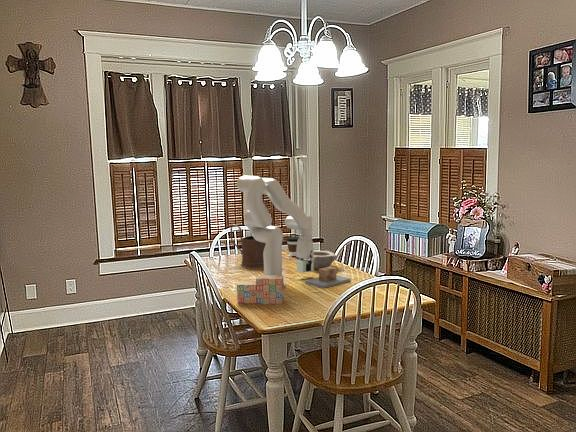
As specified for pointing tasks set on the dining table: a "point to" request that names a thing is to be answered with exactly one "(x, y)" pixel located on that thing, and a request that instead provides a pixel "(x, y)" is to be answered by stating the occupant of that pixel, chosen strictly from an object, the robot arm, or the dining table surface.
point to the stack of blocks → (262, 290)
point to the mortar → (323, 259)
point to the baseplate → (328, 283)
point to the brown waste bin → (251, 251)
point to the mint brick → (303, 266)
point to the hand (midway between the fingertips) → (305, 269)
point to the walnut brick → (327, 274)
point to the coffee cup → (292, 245)
